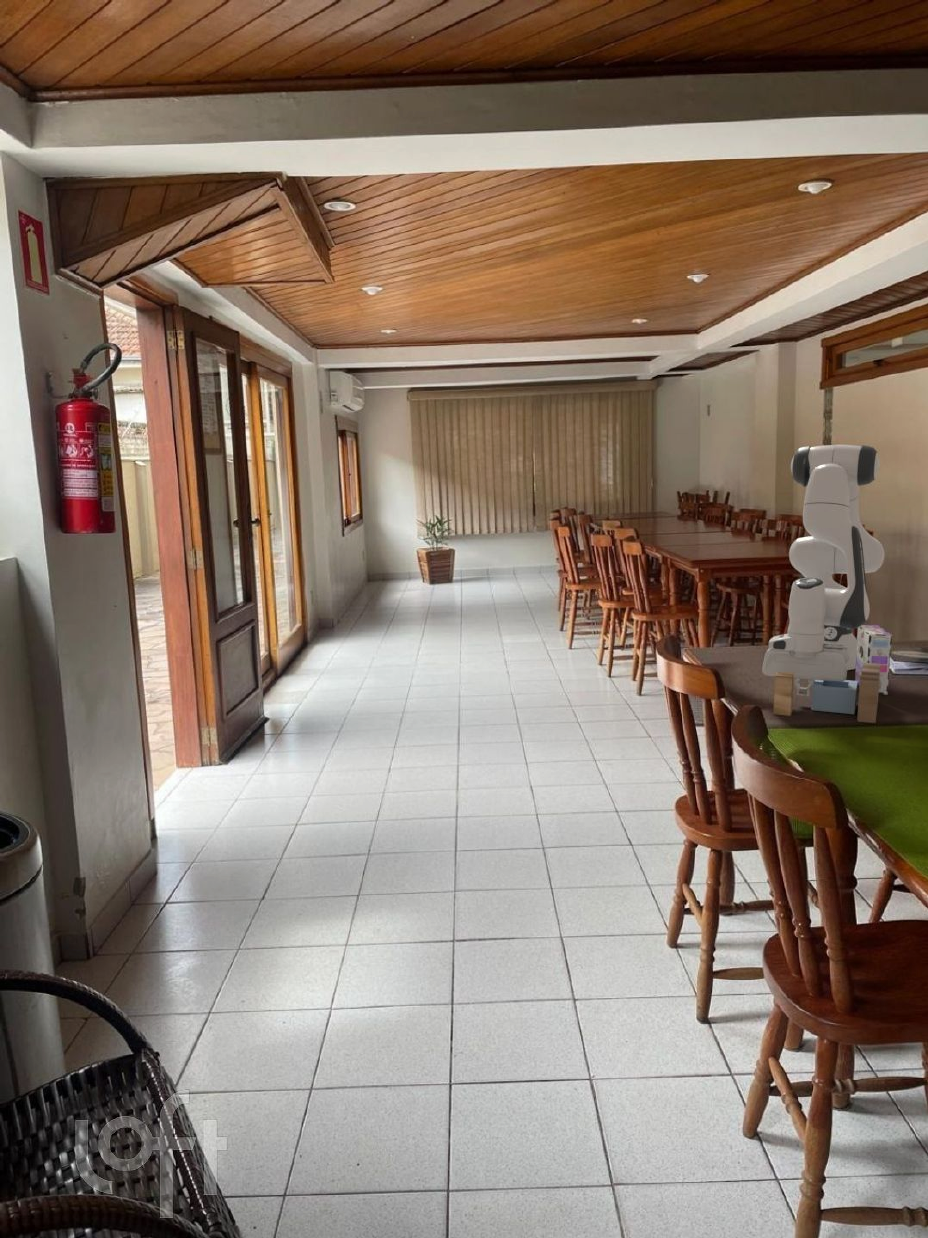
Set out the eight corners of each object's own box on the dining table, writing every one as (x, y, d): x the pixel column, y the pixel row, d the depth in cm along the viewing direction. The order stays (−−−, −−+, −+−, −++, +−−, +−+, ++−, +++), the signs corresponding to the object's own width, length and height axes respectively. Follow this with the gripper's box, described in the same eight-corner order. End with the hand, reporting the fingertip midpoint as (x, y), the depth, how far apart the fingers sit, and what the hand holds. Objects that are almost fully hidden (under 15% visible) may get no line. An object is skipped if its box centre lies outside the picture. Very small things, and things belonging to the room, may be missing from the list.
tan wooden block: (775, 709, 227) (777, 671, 226) (792, 711, 226) (793, 672, 224) (773, 713, 224) (775, 675, 222) (790, 715, 222) (792, 676, 220)
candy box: (888, 695, 237) (892, 634, 234) (865, 694, 239) (868, 634, 236) (876, 681, 251) (879, 624, 248) (853, 681, 252) (857, 623, 249)
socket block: (814, 699, 234) (816, 677, 233) (856, 703, 230) (857, 680, 229) (811, 710, 226) (812, 687, 224) (854, 714, 221) (855, 690, 220)
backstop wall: (861, 699, 234) (863, 662, 232) (878, 701, 232) (880, 663, 230) (857, 721, 216) (859, 681, 215) (875, 723, 215) (878, 682, 213)
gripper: (850, 642, 226) (847, 695, 229) (766, 637, 235) (764, 687, 238) (849, 648, 221) (845, 702, 223) (762, 642, 230) (760, 694, 232)
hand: (803, 694), depth 231 cm, fingers closed
